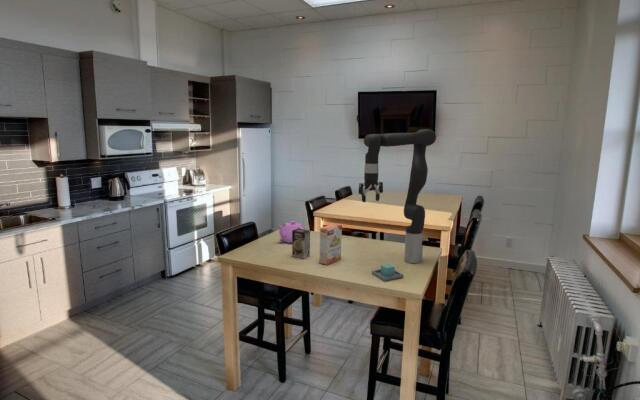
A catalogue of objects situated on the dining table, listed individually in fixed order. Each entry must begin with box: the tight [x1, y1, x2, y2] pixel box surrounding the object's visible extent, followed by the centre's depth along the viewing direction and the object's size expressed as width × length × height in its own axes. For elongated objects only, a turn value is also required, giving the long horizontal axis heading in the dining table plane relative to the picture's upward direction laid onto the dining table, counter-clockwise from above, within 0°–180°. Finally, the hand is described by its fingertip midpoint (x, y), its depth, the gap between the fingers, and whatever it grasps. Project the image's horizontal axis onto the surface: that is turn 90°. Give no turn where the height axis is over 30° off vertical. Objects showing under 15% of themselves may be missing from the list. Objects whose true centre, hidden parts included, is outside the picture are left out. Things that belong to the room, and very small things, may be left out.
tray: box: [371, 268, 404, 283], centre depth 201 cm, size 12×12×2 cm
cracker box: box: [318, 223, 343, 266], centre depth 221 cm, size 14×6×21 cm, turn 142°
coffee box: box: [291, 228, 311, 260], centre depth 230 cm, size 9×6×16 cm
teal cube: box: [380, 263, 396, 277], centre depth 200 cm, size 5×5×5 cm
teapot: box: [277, 220, 305, 244], centre depth 261 cm, size 22×22×14 cm
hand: (370, 201), depth 212 cm, fingers open, 8 cm apart
